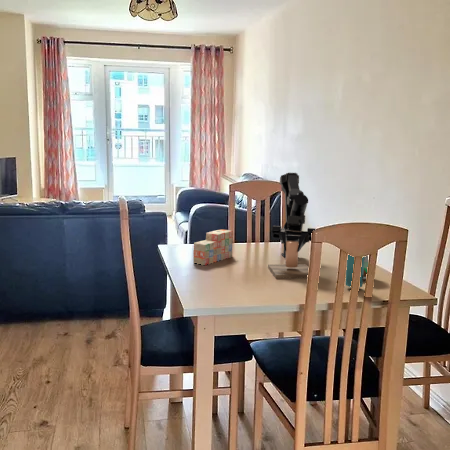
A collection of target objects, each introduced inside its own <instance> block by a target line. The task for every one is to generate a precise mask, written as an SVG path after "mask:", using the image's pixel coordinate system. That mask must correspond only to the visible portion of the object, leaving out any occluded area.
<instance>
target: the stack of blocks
mask: <svg viewBox="0 0 450 450" xmlns="http://www.w3.org/2000/svg"><path fill="white" fill-rule="evenodd" d="M233 233H234V232H233V230H229V229H217V230H215V229H214V230H212V231H209V232H205V234H206V235H205V240H200V241H199V240H198V241H196V242H194V243H193V255H192V257H193V262H192V263H197V264H196V265H198V264H201V265H200V266H203V265H205V266H208V265H211V264H210V263H212V264H214V263H213V262H215V263H217V262H216V261H218V262H220V261H219V260H221V261H223V259H224V260H227V259H229V258H232V257H233V242H234V241H233V238H234V236H233ZM226 258H227V259H226ZM207 264H208V265H207Z"/></svg>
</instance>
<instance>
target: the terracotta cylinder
mask: <svg viewBox="0 0 450 450" xmlns="http://www.w3.org/2000/svg"><path fill="white" fill-rule="evenodd" d="M298 245H299V242H298V241H286V257H285V263H284V264H285V266H286V267H290V268H295V267H298V264H299V252H298Z"/></svg>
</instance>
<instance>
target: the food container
mask: <svg viewBox="0 0 450 450" xmlns="http://www.w3.org/2000/svg"><path fill="white" fill-rule="evenodd" d="M364 258H365V259H364V261H365V262H364V272H363V274H364V275H363V278H364V279H363V282H366V281H365V280H366V274H367V267H368V256H366V257H364Z"/></svg>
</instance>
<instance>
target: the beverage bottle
mask: <svg viewBox="0 0 450 450" xmlns="http://www.w3.org/2000/svg"><path fill="white" fill-rule="evenodd" d="M364 259H365V258H364V257H363V258H362V267H361V277H360V287H359V288H362V287H363V285H364V281H363V279H364V278H363V275H364V274H363V272H364V262H365V261H364ZM353 264H354V257H352V256H350V255H348V260H347V259H346V267H347V270H346V269H345V275H346V277H345V278H346V279H345V280H346V281H345V286H347V287H349V288H351V287H350V286H351V281H352V273H353Z"/></svg>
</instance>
